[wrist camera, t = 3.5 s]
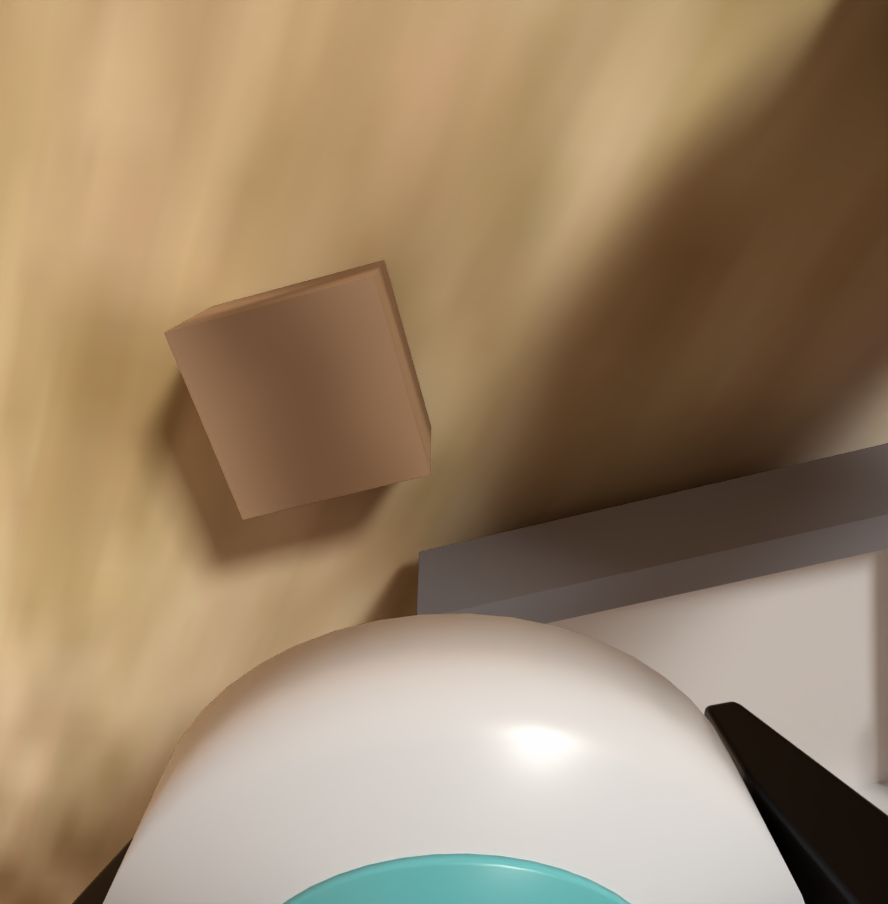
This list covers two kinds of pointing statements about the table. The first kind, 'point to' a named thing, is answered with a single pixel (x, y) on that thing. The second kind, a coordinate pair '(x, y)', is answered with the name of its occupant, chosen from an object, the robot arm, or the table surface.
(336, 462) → the block
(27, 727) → the table surface
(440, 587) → the tray
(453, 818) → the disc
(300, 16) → the table surface
